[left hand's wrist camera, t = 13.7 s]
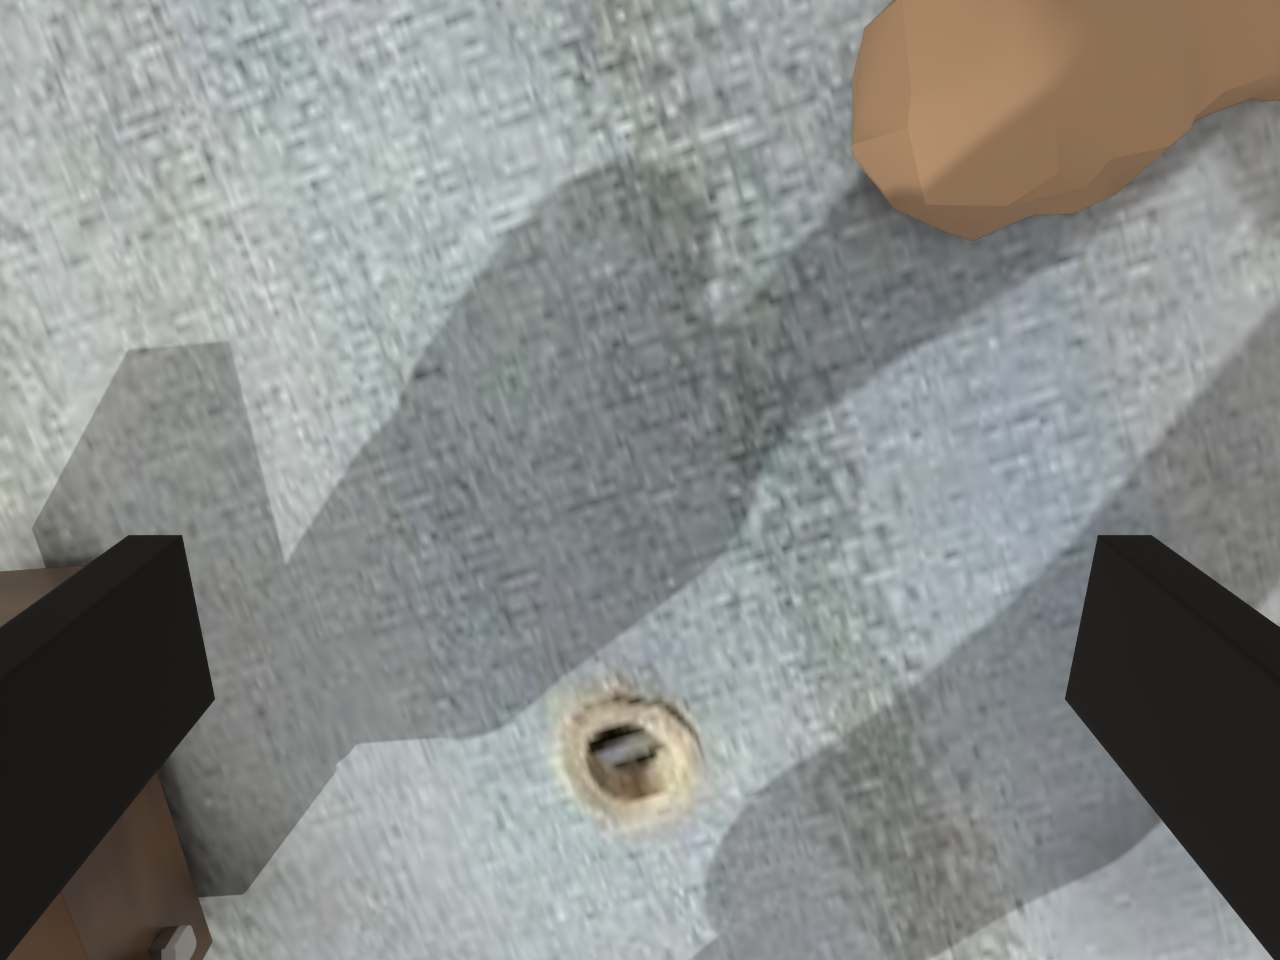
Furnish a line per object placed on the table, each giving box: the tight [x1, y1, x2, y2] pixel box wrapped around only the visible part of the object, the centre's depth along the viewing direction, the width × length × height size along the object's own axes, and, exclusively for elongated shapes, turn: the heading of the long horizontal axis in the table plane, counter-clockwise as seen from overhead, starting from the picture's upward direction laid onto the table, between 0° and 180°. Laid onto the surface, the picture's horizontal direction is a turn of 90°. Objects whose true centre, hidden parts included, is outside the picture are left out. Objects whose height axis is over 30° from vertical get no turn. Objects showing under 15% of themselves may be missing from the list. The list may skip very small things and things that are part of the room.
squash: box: [852, 0, 1280, 241], centre depth 33 cm, size 11×20×9 cm, turn 106°
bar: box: [0, 566, 212, 960], centre depth 44 cm, size 25×5×8 cm, turn 4°
